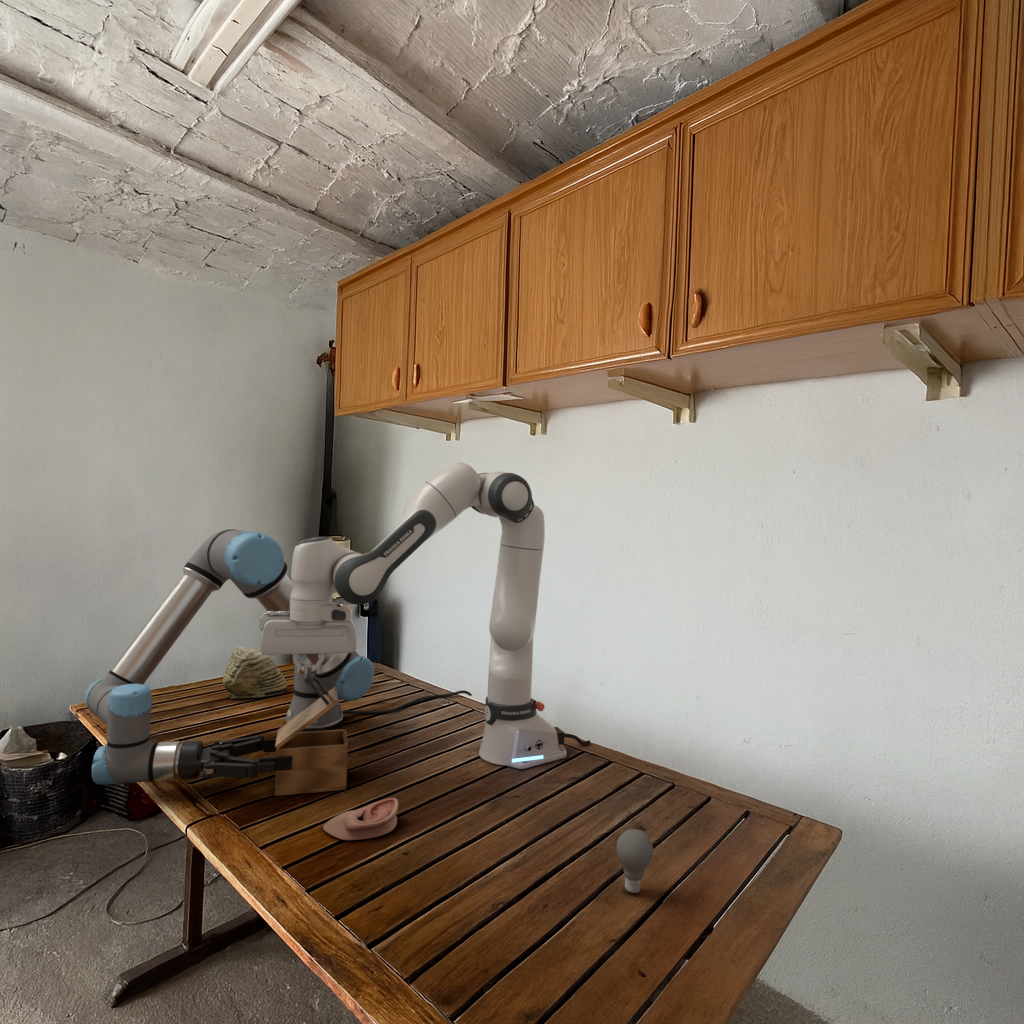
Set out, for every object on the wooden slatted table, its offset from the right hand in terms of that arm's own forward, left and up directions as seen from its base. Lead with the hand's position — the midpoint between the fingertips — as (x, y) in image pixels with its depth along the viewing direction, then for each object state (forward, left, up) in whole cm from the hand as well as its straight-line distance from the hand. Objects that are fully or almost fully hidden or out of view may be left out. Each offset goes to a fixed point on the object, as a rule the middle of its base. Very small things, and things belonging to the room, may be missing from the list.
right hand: (308, 673), depth 139 cm
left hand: (+2, 0, -18) cm, 18 cm away
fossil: (+7, -68, -24) cm, 72 cm away
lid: (0, 0, -10) cm, 10 cm away
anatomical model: (-8, +23, -24) cm, 34 cm away
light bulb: (-45, +59, -24) cm, 78 cm away
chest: (-2, 0, -24) cm, 24 cm away
